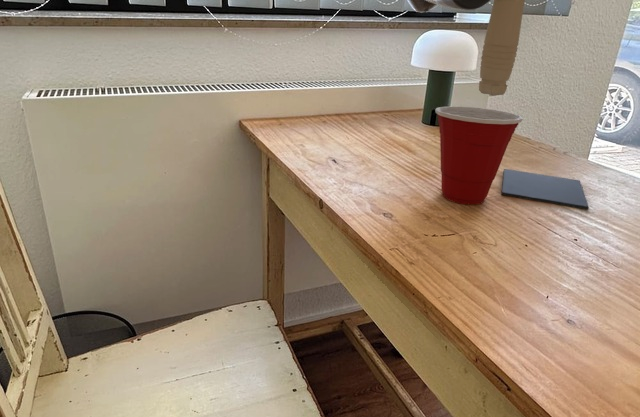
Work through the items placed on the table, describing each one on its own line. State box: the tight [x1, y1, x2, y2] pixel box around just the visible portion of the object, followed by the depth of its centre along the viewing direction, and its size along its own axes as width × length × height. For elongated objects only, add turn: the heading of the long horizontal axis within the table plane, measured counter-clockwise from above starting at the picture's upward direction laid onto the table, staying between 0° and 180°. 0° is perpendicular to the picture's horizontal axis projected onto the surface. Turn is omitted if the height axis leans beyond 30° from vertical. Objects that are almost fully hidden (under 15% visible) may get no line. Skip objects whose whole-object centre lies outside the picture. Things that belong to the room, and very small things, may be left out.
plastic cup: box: [434, 106, 524, 206], centre depth 65 cm, size 11×11×12 cm
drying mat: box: [501, 168, 589, 210], centre depth 72 cm, size 11×11×1 cm
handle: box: [478, 0, 526, 96], centre depth 59 cm, size 5×6×15 cm
